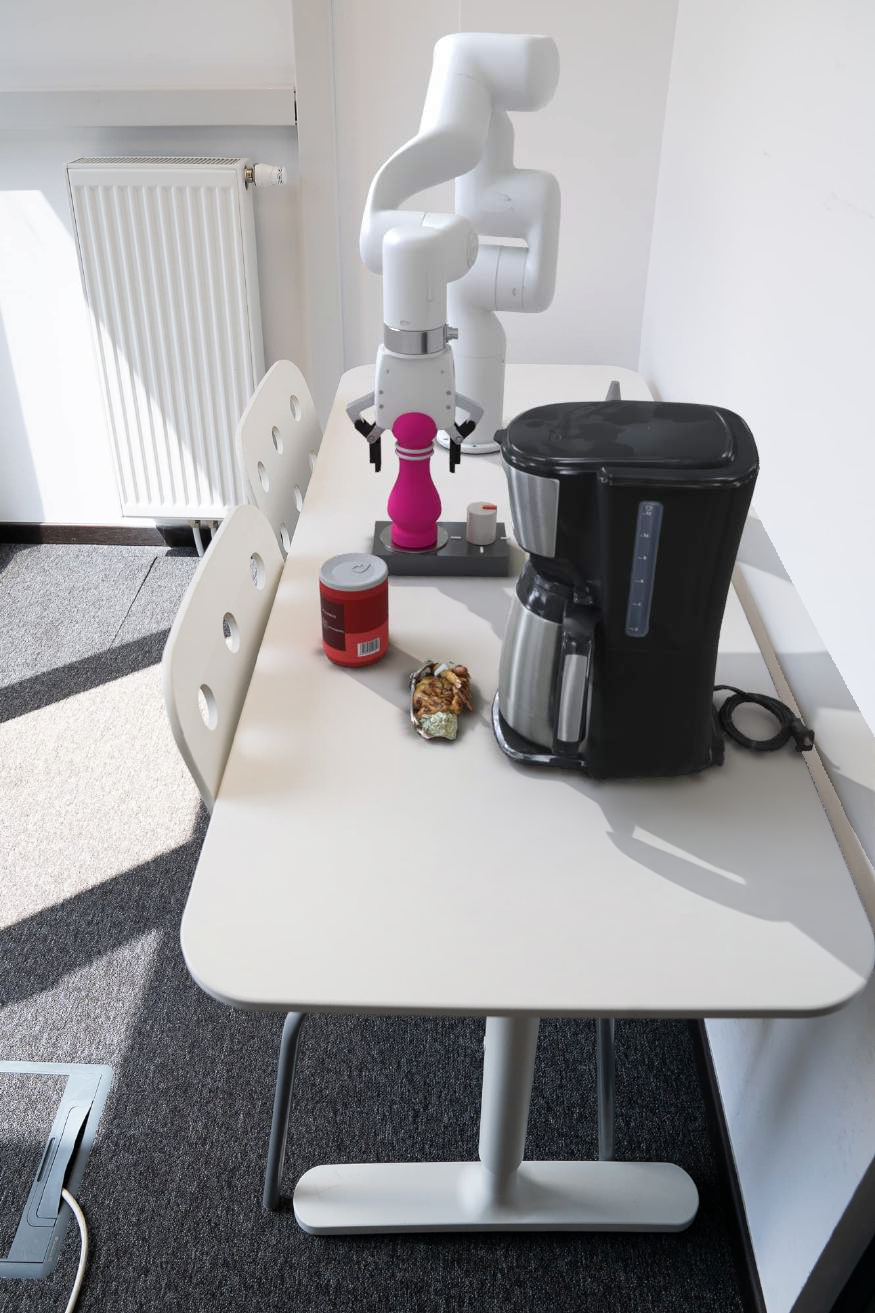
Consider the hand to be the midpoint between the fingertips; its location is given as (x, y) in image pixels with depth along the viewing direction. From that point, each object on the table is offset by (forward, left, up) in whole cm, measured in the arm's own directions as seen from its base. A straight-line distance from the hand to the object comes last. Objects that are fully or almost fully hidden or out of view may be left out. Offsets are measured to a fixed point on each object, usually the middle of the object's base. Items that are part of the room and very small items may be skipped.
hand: (415, 468), depth 134 cm
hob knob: (0, +9, -10) cm, 13 cm away
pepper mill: (+1, 0, -10) cm, 10 cm away
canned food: (+23, -7, -13) cm, 28 cm away
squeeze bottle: (-20, +28, -13) cm, 37 cm away
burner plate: (0, 0, -10) cm, 10 cm away
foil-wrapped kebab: (+34, +3, -13) cm, 37 cm away
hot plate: (0, +3, -13) cm, 13 cm away
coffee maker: (+40, +23, -13) cm, 48 cm away
